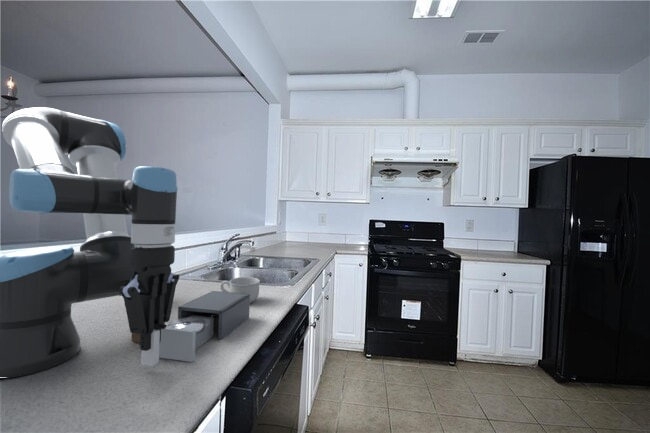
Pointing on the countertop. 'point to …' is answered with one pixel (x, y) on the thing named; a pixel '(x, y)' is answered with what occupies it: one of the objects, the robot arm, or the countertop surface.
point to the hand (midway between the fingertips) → (150, 363)
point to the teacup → (243, 286)
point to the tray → (184, 341)
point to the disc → (189, 324)
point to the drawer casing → (219, 309)
